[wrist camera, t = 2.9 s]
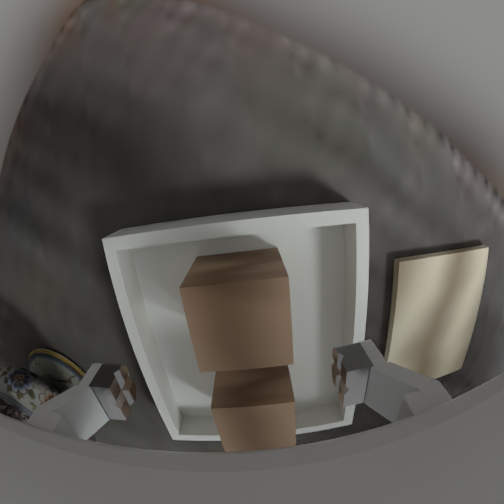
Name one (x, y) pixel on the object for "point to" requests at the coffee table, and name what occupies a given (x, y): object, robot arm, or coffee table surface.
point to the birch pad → (435, 309)
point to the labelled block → (239, 310)
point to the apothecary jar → (36, 383)
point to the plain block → (254, 408)
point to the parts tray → (301, 298)
